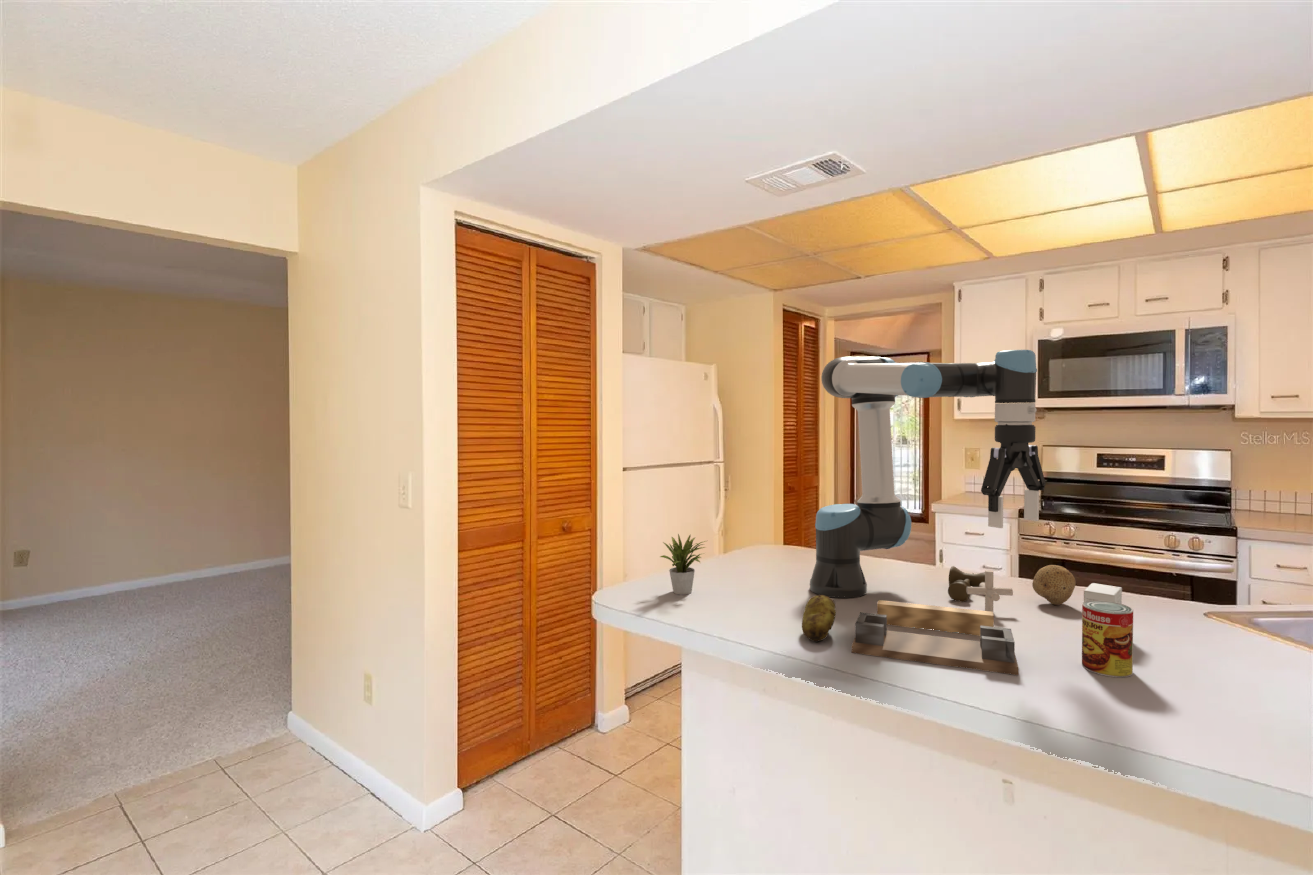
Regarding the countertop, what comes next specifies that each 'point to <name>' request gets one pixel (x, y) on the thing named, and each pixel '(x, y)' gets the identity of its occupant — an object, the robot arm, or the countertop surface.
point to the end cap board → (937, 646)
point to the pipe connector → (989, 591)
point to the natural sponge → (1054, 584)
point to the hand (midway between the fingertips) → (1013, 523)
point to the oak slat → (935, 617)
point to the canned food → (1107, 638)
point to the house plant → (682, 565)
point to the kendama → (962, 583)
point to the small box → (1103, 593)
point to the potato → (818, 617)
